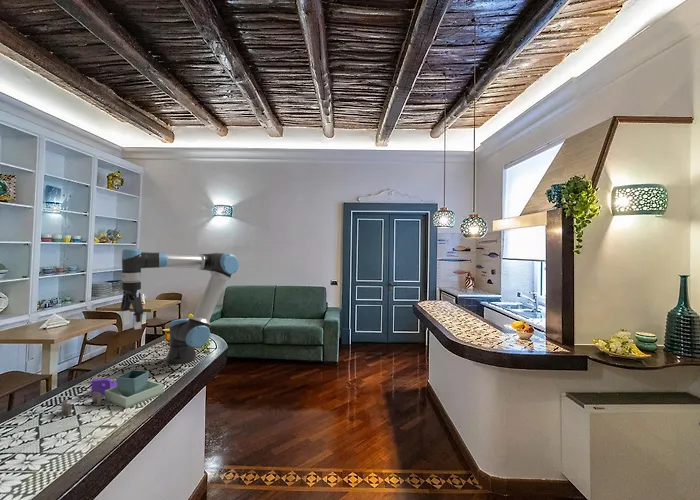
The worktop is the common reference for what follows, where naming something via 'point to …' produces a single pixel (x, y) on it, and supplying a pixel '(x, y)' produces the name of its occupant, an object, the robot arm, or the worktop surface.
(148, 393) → the pale green square tray
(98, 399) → the holder
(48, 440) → the worktop surface
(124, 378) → the flower pot
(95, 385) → the bracket
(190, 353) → the robot arm
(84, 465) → the worktop surface
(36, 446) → the worktop surface
